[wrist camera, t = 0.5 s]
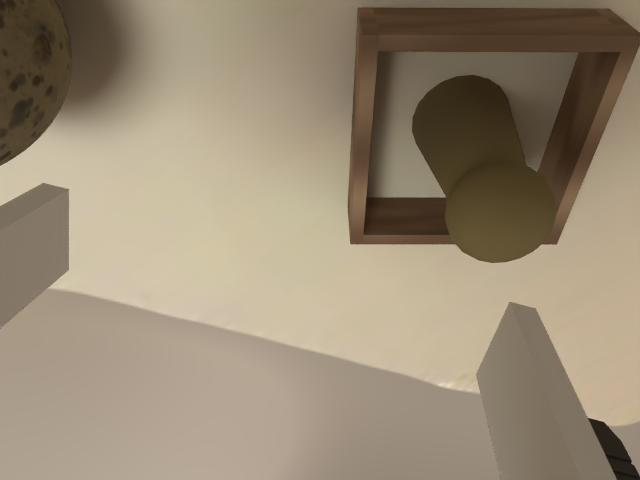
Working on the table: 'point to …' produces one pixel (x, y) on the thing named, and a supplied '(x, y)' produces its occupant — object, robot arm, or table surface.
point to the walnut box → (488, 36)
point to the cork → (482, 170)
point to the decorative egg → (31, 71)
